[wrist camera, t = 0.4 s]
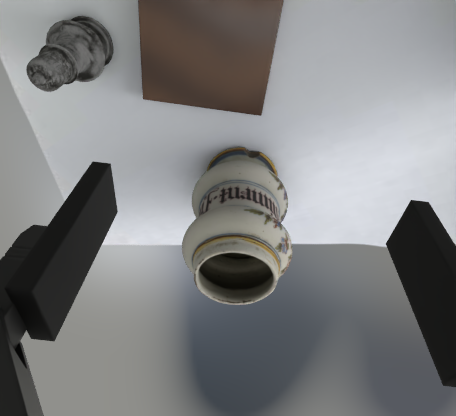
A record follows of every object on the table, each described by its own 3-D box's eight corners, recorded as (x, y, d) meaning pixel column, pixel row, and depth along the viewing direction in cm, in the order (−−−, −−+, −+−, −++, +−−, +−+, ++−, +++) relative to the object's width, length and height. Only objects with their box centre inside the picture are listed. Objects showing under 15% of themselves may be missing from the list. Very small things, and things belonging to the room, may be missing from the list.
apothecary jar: (295, 148, 44) (313, 251, 30) (273, 216, 51) (278, 323, 38) (203, 131, 43) (177, 229, 29) (194, 203, 51) (170, 307, 37)
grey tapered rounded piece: (82, -1, 34) (18, 27, 25) (126, 48, 37) (83, 88, 28) (51, 38, 37) (-17, 76, 28) (94, 81, 40) (46, 128, 31)
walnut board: (135, -143, 28) (131, -146, 27) (304, -117, 28) (306, -118, 27) (145, 95, 40) (142, 99, 40) (261, 111, 41) (261, 115, 40)
